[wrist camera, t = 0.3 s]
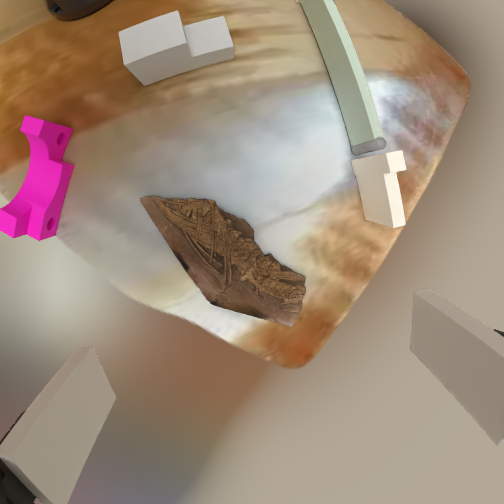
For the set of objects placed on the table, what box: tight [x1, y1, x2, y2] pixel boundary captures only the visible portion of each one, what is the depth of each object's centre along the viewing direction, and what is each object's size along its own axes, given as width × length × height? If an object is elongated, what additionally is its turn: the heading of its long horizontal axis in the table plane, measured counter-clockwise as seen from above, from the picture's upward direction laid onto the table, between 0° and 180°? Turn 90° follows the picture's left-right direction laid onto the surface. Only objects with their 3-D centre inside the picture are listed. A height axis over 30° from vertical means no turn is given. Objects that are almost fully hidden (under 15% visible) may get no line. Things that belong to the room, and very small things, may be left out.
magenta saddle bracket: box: [0, 115, 74, 241], centre depth 31 cm, size 15×6×8 cm, turn 157°
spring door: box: [301, 0, 386, 155], centre depth 29 cm, size 24×3×7 cm, turn 15°
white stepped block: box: [119, 11, 234, 86], centre depth 28 cm, size 5×12×8 cm, turn 105°
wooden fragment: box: [140, 196, 306, 327], centre depth 37 cm, size 26×11×1 cm, turn 46°
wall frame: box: [295, 0, 406, 228], centre depth 28 cm, size 41×2×10 cm, turn 15°
